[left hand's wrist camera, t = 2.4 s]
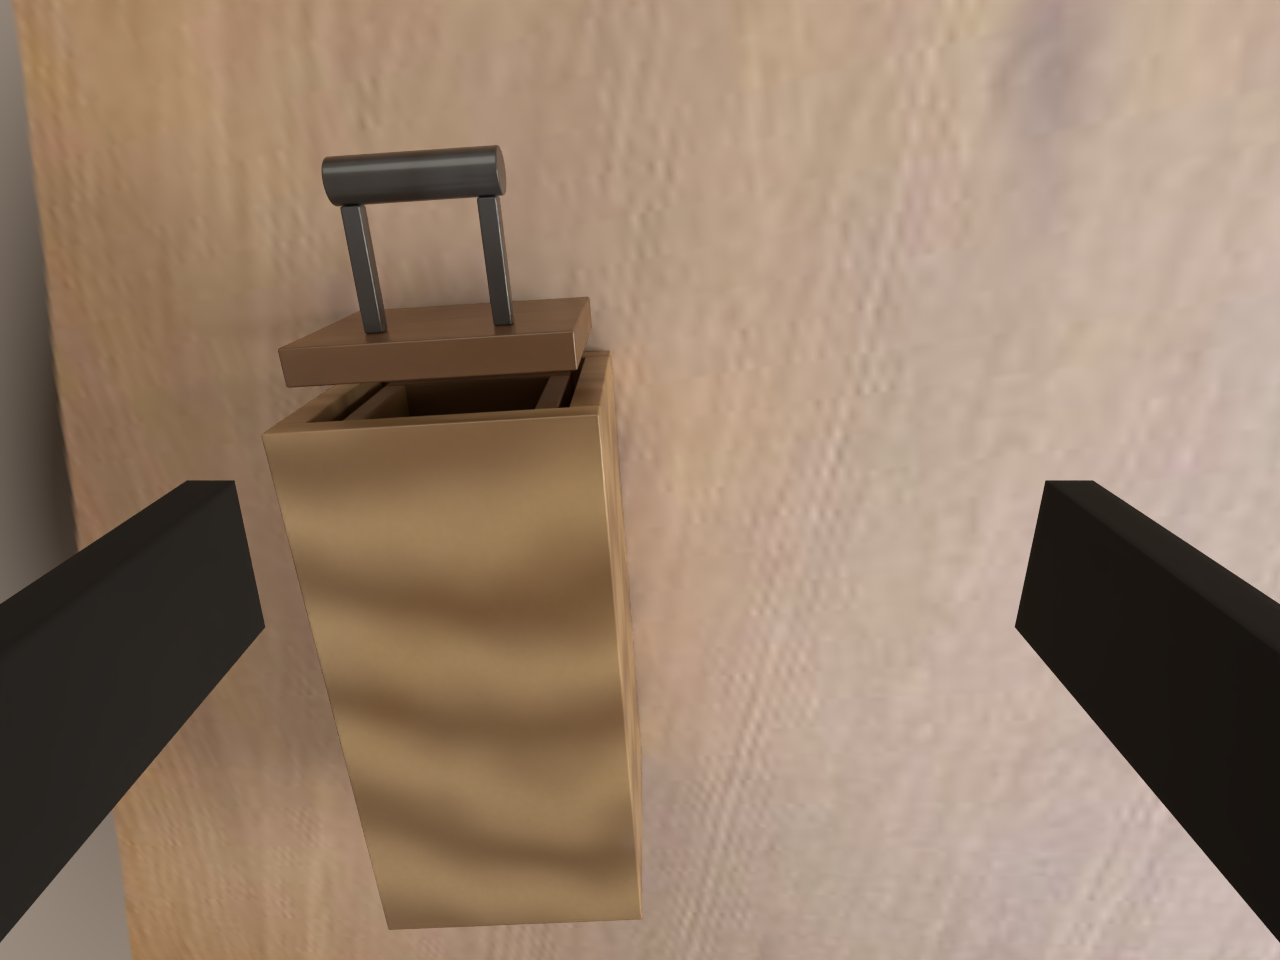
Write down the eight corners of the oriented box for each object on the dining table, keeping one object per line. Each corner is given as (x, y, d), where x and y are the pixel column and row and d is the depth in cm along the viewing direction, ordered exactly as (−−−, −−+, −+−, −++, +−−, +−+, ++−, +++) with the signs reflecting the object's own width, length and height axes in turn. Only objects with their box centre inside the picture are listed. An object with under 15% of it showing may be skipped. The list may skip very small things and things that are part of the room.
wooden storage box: (363, 365, 31) (260, 434, 22) (610, 350, 31) (598, 414, 22) (443, 767, 38) (388, 930, 30) (642, 758, 38) (642, 919, 30)
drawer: (329, 164, 27) (231, 159, 21) (576, 147, 27) (555, 137, 20) (438, 722, 36) (394, 841, 30) (624, 713, 36) (620, 831, 29)
